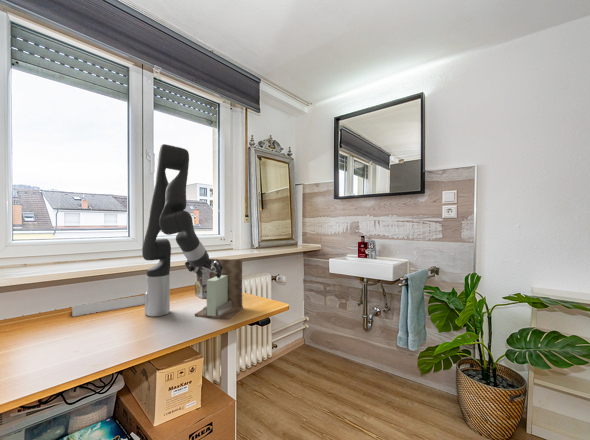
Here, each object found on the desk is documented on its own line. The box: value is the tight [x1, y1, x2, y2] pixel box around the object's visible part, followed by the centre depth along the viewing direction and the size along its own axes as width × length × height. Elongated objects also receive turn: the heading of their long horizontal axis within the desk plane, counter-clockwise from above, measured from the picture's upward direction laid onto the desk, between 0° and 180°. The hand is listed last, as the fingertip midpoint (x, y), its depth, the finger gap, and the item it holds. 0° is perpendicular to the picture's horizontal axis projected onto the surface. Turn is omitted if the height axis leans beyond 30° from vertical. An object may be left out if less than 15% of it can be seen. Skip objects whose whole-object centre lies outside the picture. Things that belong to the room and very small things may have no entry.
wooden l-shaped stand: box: [194, 258, 244, 320], centre depth 129 cm, size 16×15×23 cm
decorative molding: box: [71, 294, 145, 317], centre depth 138 cm, size 34×5×10 cm
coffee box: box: [194, 269, 210, 299], centre depth 155 cm, size 9×6×16 cm
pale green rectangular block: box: [206, 275, 228, 316], centre depth 127 cm, size 5×12×15 cm, turn 168°
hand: (210, 276), depth 120 cm, fingers open, 8 cm apart
